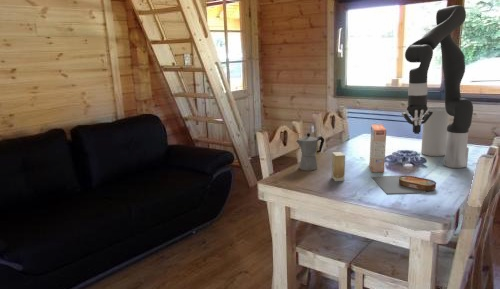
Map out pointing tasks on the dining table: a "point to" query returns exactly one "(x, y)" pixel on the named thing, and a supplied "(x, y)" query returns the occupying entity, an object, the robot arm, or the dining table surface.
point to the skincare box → (338, 166)
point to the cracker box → (377, 148)
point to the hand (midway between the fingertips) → (416, 133)
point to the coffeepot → (309, 151)
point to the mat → (394, 185)
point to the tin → (417, 183)
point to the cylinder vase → (435, 132)
